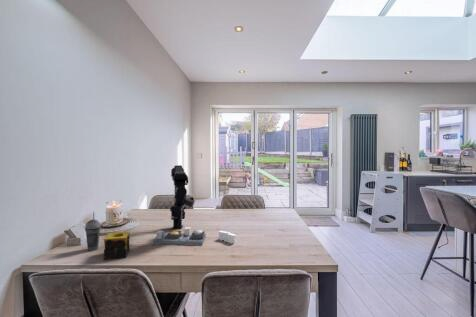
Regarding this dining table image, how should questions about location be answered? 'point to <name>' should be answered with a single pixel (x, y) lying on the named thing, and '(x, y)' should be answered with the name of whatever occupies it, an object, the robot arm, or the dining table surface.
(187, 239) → the control panel
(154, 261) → the dining table surface
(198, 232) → the button grey
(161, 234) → the grey metal block
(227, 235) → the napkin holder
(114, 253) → the black and yellow box
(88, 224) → the beverage cup
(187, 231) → the lever ivory
